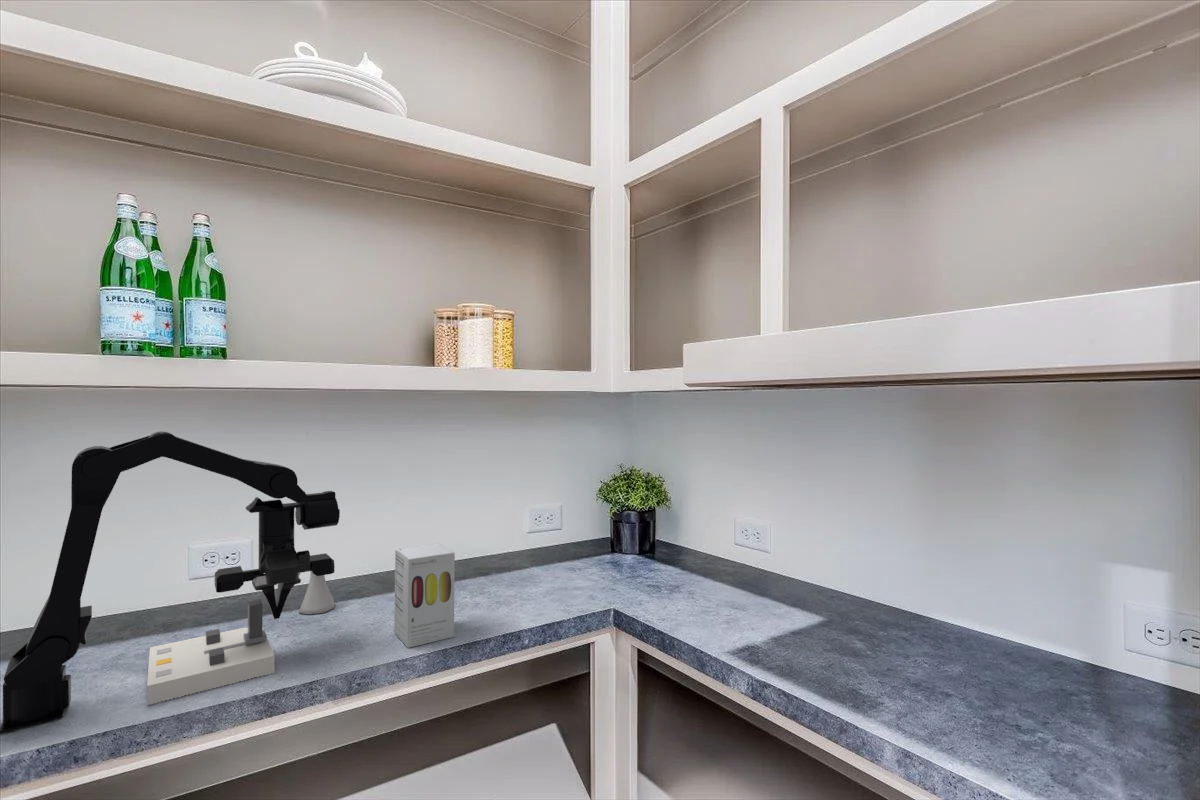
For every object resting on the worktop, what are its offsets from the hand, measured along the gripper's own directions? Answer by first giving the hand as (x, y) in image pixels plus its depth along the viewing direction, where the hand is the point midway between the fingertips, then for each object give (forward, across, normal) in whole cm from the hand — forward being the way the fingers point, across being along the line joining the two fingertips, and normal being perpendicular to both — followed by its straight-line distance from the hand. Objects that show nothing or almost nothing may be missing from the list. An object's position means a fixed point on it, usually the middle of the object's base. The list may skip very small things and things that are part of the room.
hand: (276, 618), depth 104 cm
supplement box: (+7, +25, -8) cm, 27 cm away
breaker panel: (+6, -10, 0) cm, 12 cm away
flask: (+7, +11, +20) cm, 23 cm away
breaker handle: (+3, -3, 0) cm, 5 cm away
